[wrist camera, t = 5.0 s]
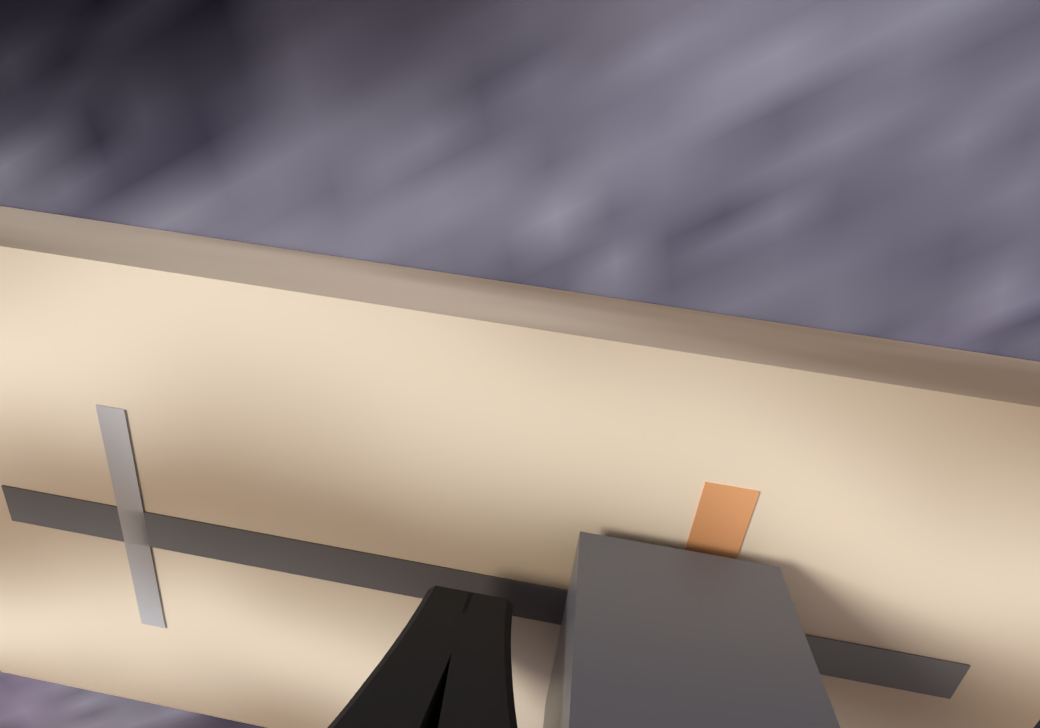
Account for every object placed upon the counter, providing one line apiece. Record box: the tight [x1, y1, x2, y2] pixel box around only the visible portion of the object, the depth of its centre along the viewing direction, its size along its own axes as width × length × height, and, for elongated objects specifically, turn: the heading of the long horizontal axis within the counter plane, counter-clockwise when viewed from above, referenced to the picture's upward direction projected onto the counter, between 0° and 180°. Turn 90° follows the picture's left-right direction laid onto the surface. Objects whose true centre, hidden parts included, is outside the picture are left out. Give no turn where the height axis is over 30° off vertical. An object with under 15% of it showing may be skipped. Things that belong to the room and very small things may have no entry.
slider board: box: [0, 206, 1040, 728], centre depth 11 cm, size 10×20×2 cm, turn 83°
